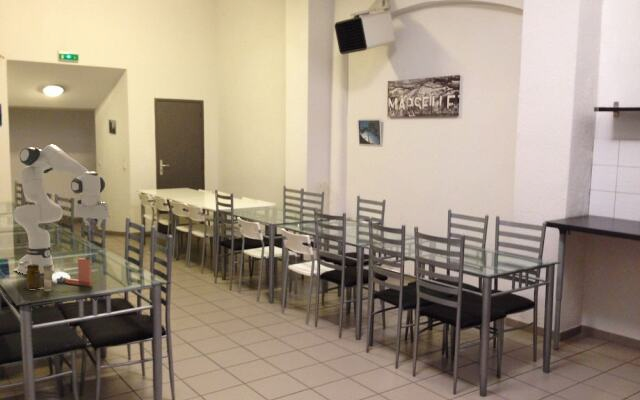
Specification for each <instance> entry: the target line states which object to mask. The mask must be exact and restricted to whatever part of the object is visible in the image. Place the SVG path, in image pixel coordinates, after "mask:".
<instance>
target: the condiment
mask: <svg viewBox="0 0 640 400" xmlns="http://www.w3.org/2000/svg"><path fill="white" fill-rule="evenodd" d="M26 287H27V288H28V289H38V288H40V287H41V288H40V290H45V289H44V286H41V274H40V270H39V265H35V264H34V265H28V266H27V275H26Z"/></svg>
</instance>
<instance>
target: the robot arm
mask: <svg viewBox="0 0 640 400" xmlns="http://www.w3.org/2000/svg"><path fill="white" fill-rule="evenodd" d="M19 161H20V162H21V163H22V165H23V164H24V165H25V167H23V169H22V170H21V176H20V177H21V186H22V190H23V196H24V198H25V199H26V200H27V201H29V202H31V203H34V204H25V205H20V206H17V207H16V208H14V211H13V212H12V216H13V220H14V221H15V223H17V224H18V225H20V226H21V227H22V228H23V229H24V230H25V232H26V234H27V238H28V240H27V241H28V247H27V248H26V249H25V251H26V254H25V255H24V256H23V257H22V258H20V259H19V260H18V263H17V267H16V268H14V269H13V272H15V271H17V272H16V273H19V272H20V273H19V274H22V273H23V275H26V274H27V266H28V265H34V264H35V265H39V270H40V275H41V274H44V268H43V266H44V265H53V266H52V272H54V271H55V266H54V263H53V256H52V247H51V234H50V233H49V231H47V230H46V229H44V228H41V227H39V224H47V223H50V224H51V223H55V222H59V221H60V220H61V219H62V217H63V215H64V214H63V213H64V212H63V208H62V207H61V205H60V204H58V203H56V202H54V201H53V200H52V199H50V197H49V196H48V194H47V192H46V189H45V186H44V184H45V183H44V180H43V173H44V174H48V173H49V172H51V171H55V172H57V173H59V174H60V173H61V174H68V175H74V176H75V175H76V176H77V177H74V178H72V180H71V183H70V188H71V189H70V190H71V191H72V192H73V194H75V195H83V196H82V198H79V199H76V201H75V203H76V207H75V215H76V217H77V218H82V220H83V223H84V226H86V227H88V226H90V222H89V221H88V219H96V220H97V221H98V222H97V223H96V224H95V226H96V227H97V228H100V227H101V226H102V225H101V224H102V223H103V220H108V219H109V217H110V215H109V207H108V204H107V202H105V201H103V202H102V198H101V196H102V194H101V193H102V192H103V191H104V189H105V187H106V182H105V179H104V178H103V177H102V176H100V174H99V173H98V172H97V171H92V170H90V169H89V168H88V167H86V166H85V165H84V164H83V163H81V162H79V161H77V160H76V159H74V158H72V157H71V156H70V155H68V154H67V153H66V152H65V151H64V150H63V149H62V148H61V147H58V146H57V145H55V144H47V145H46V146H45V147H44V148H43V149H39V148H38V147H25V148H23V149H22V150H21V151H20V153H19Z"/></svg>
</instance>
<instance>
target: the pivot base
mask: <svg viewBox="0 0 640 400" xmlns="http://www.w3.org/2000/svg"><path fill="white" fill-rule="evenodd" d="M67 278H68V277H63V276H62V275H61V276H60V277H58V278H56V284H58V285H59V284H61V285H62V284H63V285H64V284H66V283H65V279H67Z"/></svg>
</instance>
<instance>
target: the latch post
mask: <svg viewBox="0 0 640 400" xmlns="http://www.w3.org/2000/svg"><path fill="white" fill-rule="evenodd" d="M52 266H54V264H53V265H44V266H43V268H44V273H43V281H44V282H43V283H44V286H43V288H44V289H43V290H44V292H51V291H53V271H52Z"/></svg>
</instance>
